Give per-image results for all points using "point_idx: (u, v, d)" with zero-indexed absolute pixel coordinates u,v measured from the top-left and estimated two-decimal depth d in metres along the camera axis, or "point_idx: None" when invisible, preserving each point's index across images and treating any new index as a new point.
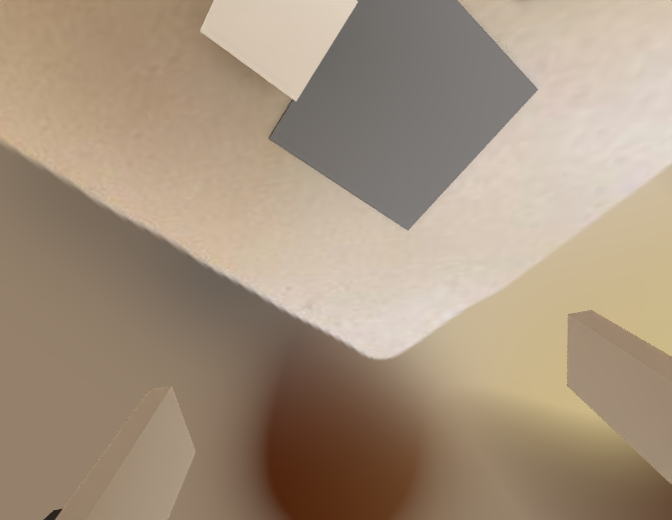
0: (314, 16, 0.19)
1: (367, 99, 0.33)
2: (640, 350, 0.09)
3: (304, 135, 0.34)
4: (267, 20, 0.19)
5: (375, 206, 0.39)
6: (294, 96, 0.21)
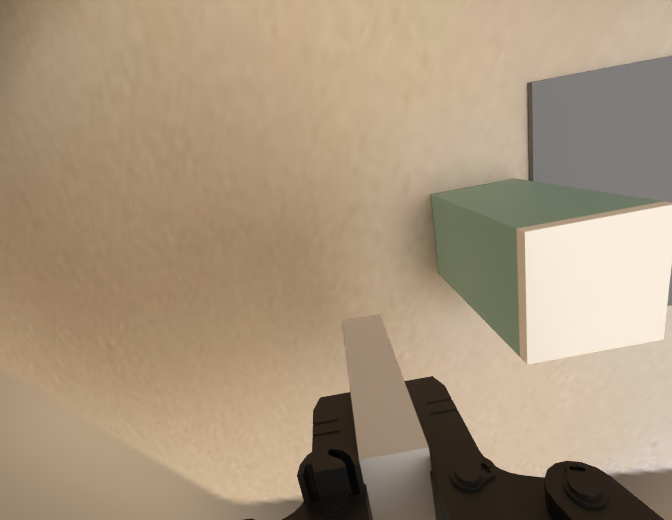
0: (636, 256, 0.14)
1: None
2: (378, 347, 0.12)
3: None
4: (587, 301, 0.15)
5: None
6: (658, 336, 0.16)
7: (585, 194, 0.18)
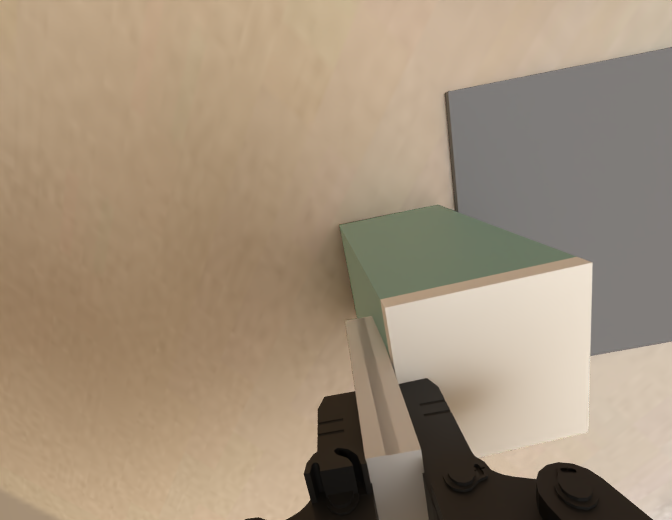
0: (542, 332, 0.11)
1: None
2: (373, 348, 0.12)
3: None
4: (484, 393, 0.11)
5: (664, 339, 0.24)
6: (581, 429, 0.12)
7: (494, 236, 0.14)
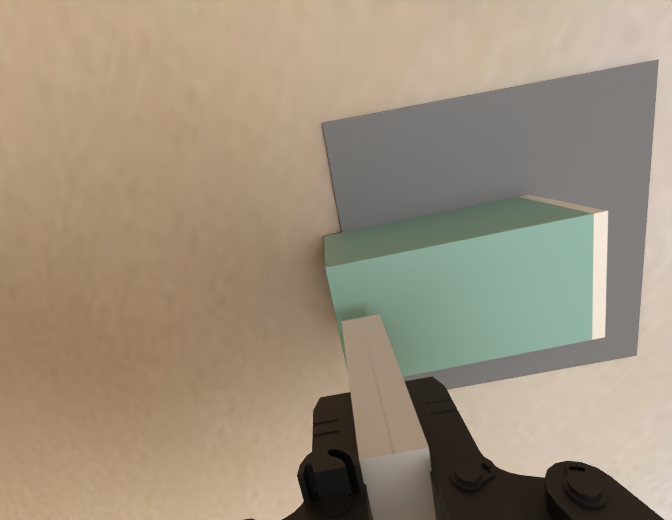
0: None
1: None
2: (378, 347, 0.12)
3: None
4: None
5: (561, 365, 0.24)
6: None
7: (464, 210, 0.20)
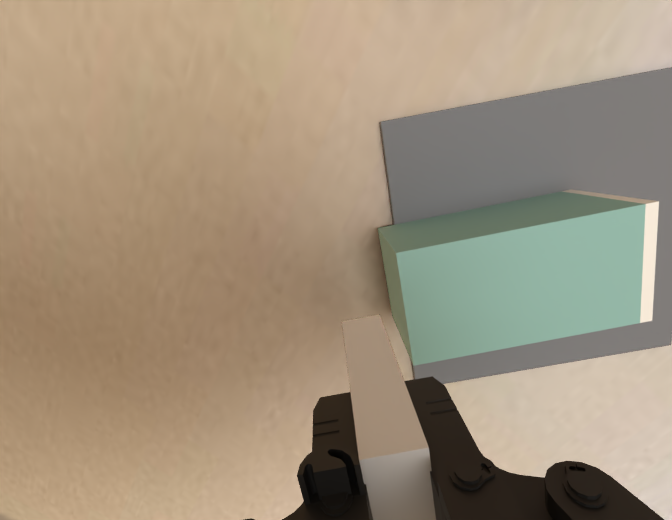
0: None
1: None
2: (378, 347, 0.12)
3: None
4: None
5: (598, 354, 0.25)
6: None
7: (511, 204, 0.21)
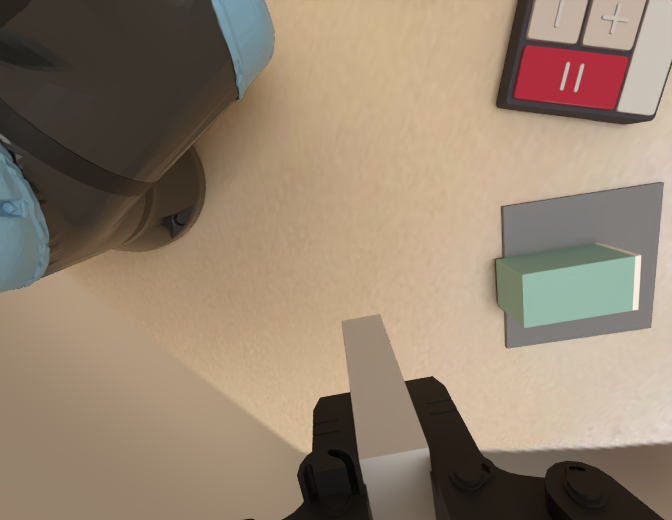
0: None
1: None
2: (378, 347, 0.12)
3: (527, 329, 0.45)
4: None
5: (610, 331, 0.45)
6: None
7: (567, 249, 0.41)
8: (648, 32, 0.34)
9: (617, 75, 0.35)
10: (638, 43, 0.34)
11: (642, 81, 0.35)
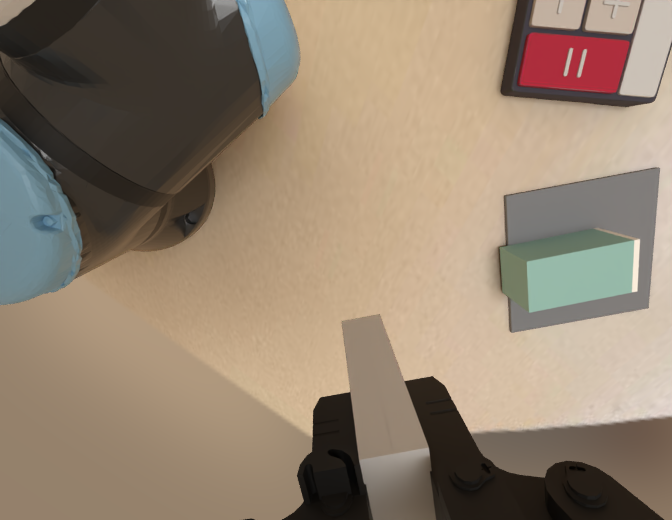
0: None
1: None
2: (378, 347, 0.12)
3: (530, 314, 0.46)
4: None
5: (609, 313, 0.47)
6: None
7: (568, 235, 0.43)
8: (648, 15, 0.35)
9: (619, 59, 0.35)
10: (639, 27, 0.35)
11: (643, 63, 0.36)
